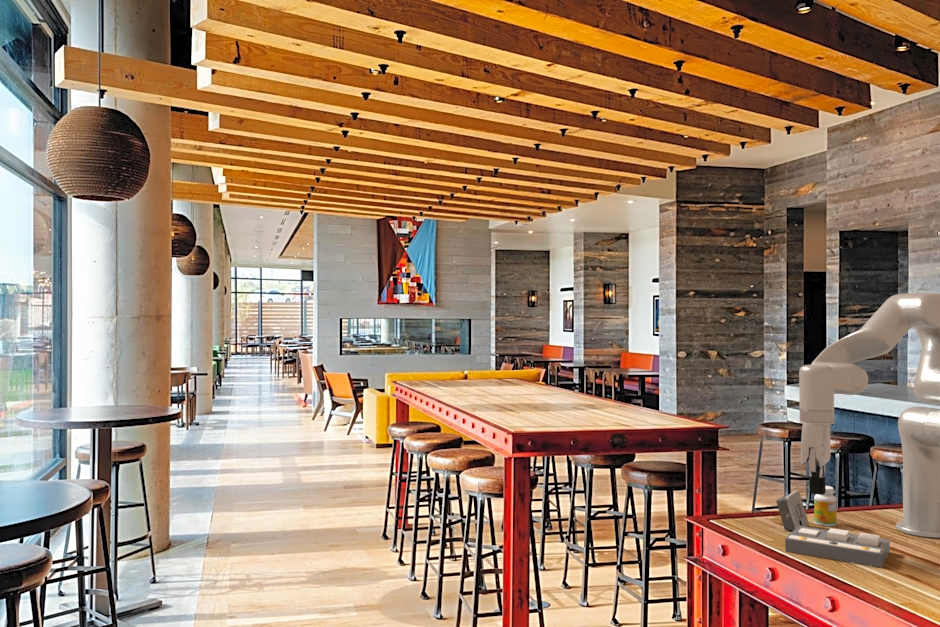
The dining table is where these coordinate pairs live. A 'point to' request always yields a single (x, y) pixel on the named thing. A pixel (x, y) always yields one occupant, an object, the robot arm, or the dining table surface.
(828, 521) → the supplement bottle
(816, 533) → the left button
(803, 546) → the switch panel
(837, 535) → the middle button
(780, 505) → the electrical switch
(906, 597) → the dining table surface
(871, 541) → the right button
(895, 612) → the dining table surface
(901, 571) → the dining table surface
